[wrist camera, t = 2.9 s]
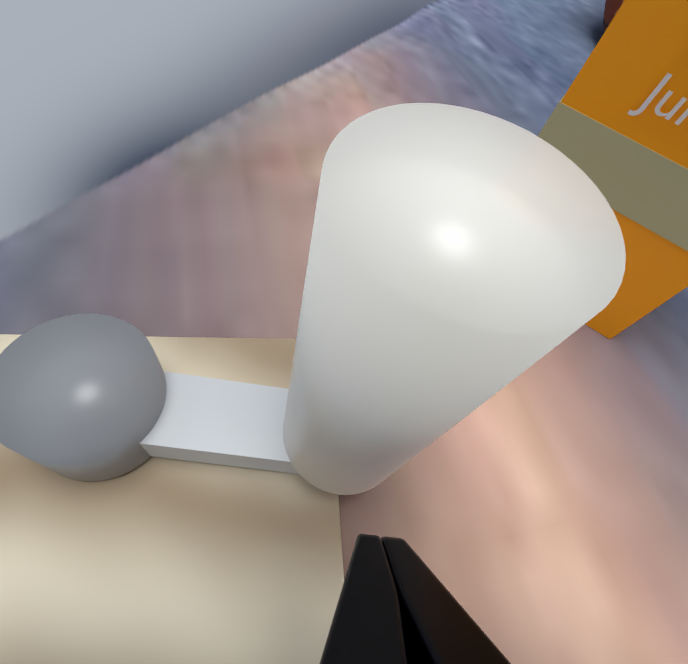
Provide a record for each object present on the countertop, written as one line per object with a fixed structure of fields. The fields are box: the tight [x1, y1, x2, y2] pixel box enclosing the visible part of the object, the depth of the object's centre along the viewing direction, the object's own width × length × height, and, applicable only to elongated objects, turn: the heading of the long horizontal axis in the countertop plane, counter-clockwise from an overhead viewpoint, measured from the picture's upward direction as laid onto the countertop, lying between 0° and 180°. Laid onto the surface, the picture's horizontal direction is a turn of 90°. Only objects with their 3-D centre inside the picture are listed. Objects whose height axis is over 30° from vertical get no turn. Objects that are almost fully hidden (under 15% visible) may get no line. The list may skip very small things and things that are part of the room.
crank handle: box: [0, 103, 626, 495], centre depth 9 cm, size 19×4×12 cm, turn 85°
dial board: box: [0, 334, 344, 664], centre depth 13 cm, size 12×19×1 cm, turn 95°
